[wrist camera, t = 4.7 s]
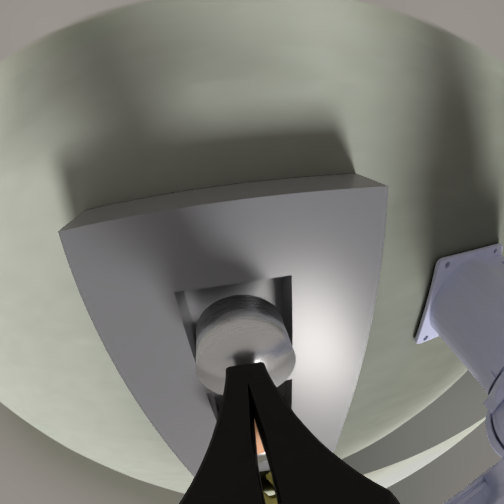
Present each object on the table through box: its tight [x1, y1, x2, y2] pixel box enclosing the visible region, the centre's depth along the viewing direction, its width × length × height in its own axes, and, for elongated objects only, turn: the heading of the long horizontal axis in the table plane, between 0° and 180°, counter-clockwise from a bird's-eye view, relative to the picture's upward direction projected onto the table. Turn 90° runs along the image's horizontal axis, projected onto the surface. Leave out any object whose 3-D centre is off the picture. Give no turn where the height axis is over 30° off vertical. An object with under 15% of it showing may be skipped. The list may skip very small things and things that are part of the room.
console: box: [58, 174, 388, 477], centre depth 17 cm, size 14×26×3 cm, turn 5°
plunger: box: [196, 295, 296, 395], centre depth 12 cm, size 4×4×2 cm
